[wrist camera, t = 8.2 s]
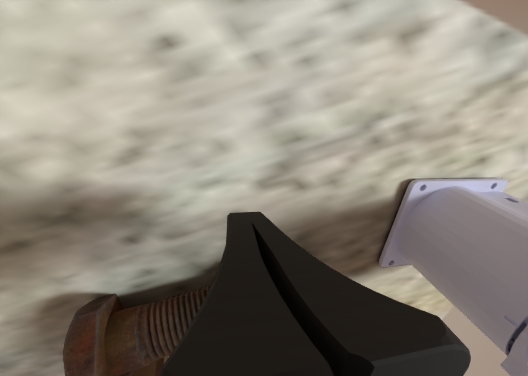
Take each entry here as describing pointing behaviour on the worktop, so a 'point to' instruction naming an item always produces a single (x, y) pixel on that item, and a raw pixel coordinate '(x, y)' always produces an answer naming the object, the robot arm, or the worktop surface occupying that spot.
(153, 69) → the worktop surface
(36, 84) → the worktop surface
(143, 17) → the worktop surface
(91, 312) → the bolt
